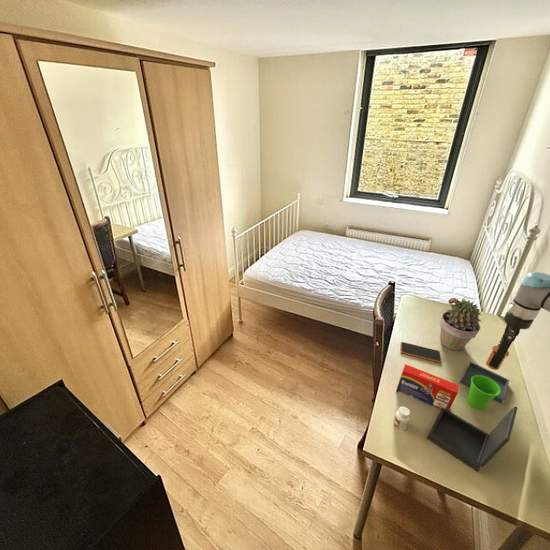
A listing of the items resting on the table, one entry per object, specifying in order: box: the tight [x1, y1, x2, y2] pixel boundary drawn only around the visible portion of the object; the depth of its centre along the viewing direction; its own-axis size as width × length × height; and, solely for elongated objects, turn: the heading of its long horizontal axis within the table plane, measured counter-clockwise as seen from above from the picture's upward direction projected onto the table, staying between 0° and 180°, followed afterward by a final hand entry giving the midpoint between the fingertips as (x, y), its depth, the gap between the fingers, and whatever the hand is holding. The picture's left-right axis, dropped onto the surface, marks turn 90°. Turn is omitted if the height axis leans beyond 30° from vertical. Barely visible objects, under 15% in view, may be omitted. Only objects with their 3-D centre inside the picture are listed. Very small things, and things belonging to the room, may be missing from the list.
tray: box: [459, 361, 510, 404], centre depth 118 cm, size 14×13×2 cm
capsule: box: [485, 345, 510, 371], centre depth 111 cm, size 5×5×8 cm
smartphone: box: [400, 341, 442, 363], centre depth 132 cm, size 8×17×1 cm, turn 69°
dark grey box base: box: [426, 407, 490, 473], centre depth 96 cm, size 15×14×3 cm
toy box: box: [395, 363, 459, 411], centre depth 108 cm, size 18×4×12 cm, turn 58°
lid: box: [480, 405, 518, 468], centre depth 87 cm, size 15×14×1 cm
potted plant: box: [439, 297, 484, 352], centre depth 132 cm, size 18×20×25 cm
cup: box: [466, 375, 501, 411], centre depth 106 cm, size 9×9×11 cm
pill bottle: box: [393, 406, 411, 431], centre depth 100 cm, size 4×4×8 cm
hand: (494, 362), depth 112 cm, fingers closed on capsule, 5 cm apart
